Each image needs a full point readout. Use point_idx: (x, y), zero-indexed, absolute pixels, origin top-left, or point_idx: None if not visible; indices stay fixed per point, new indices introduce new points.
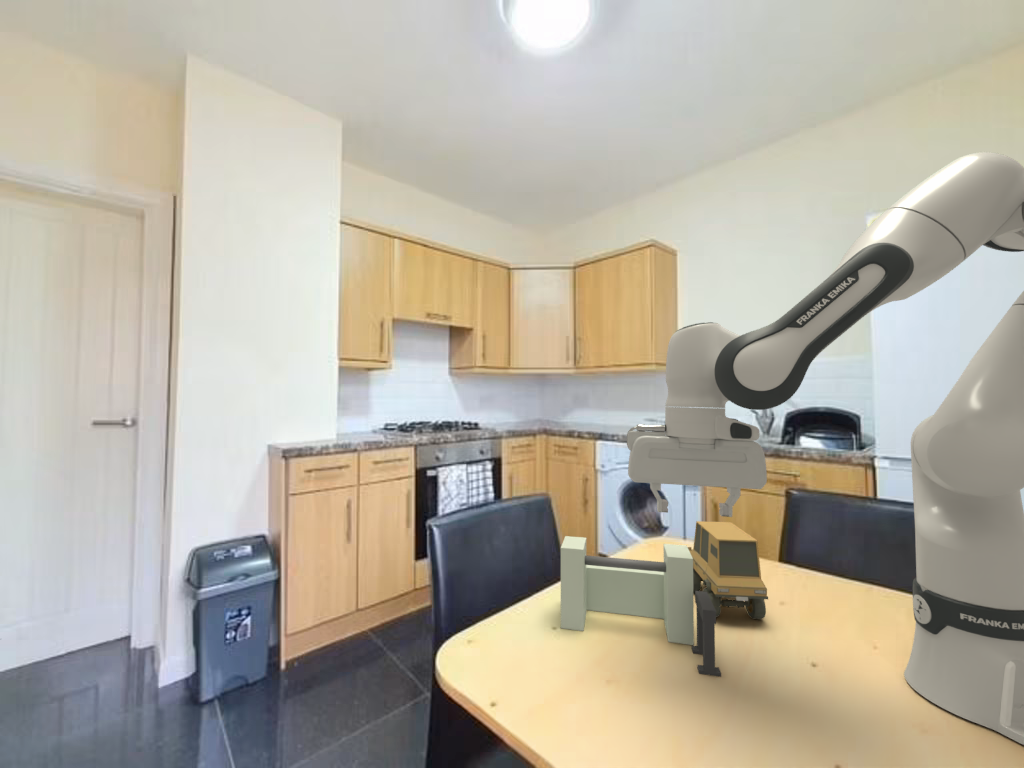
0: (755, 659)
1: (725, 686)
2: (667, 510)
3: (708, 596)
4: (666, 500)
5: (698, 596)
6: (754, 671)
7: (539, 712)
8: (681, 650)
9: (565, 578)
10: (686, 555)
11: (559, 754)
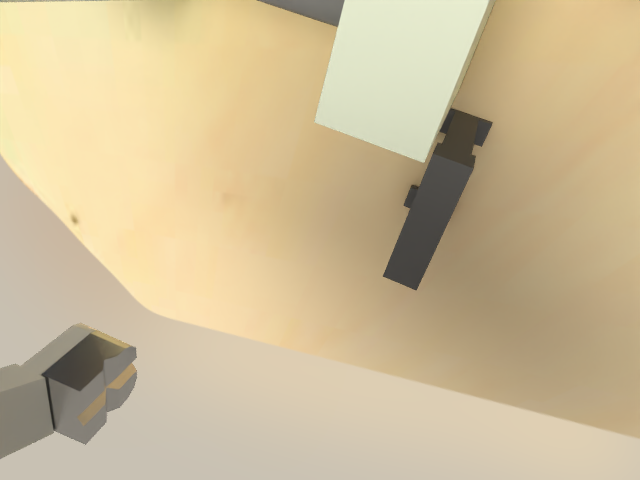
0: (591, 171)
1: None
2: (122, 399)
3: (454, 204)
4: (78, 413)
5: (418, 199)
6: (543, 214)
7: (131, 245)
8: None
9: None
10: (417, 111)
11: (159, 310)
